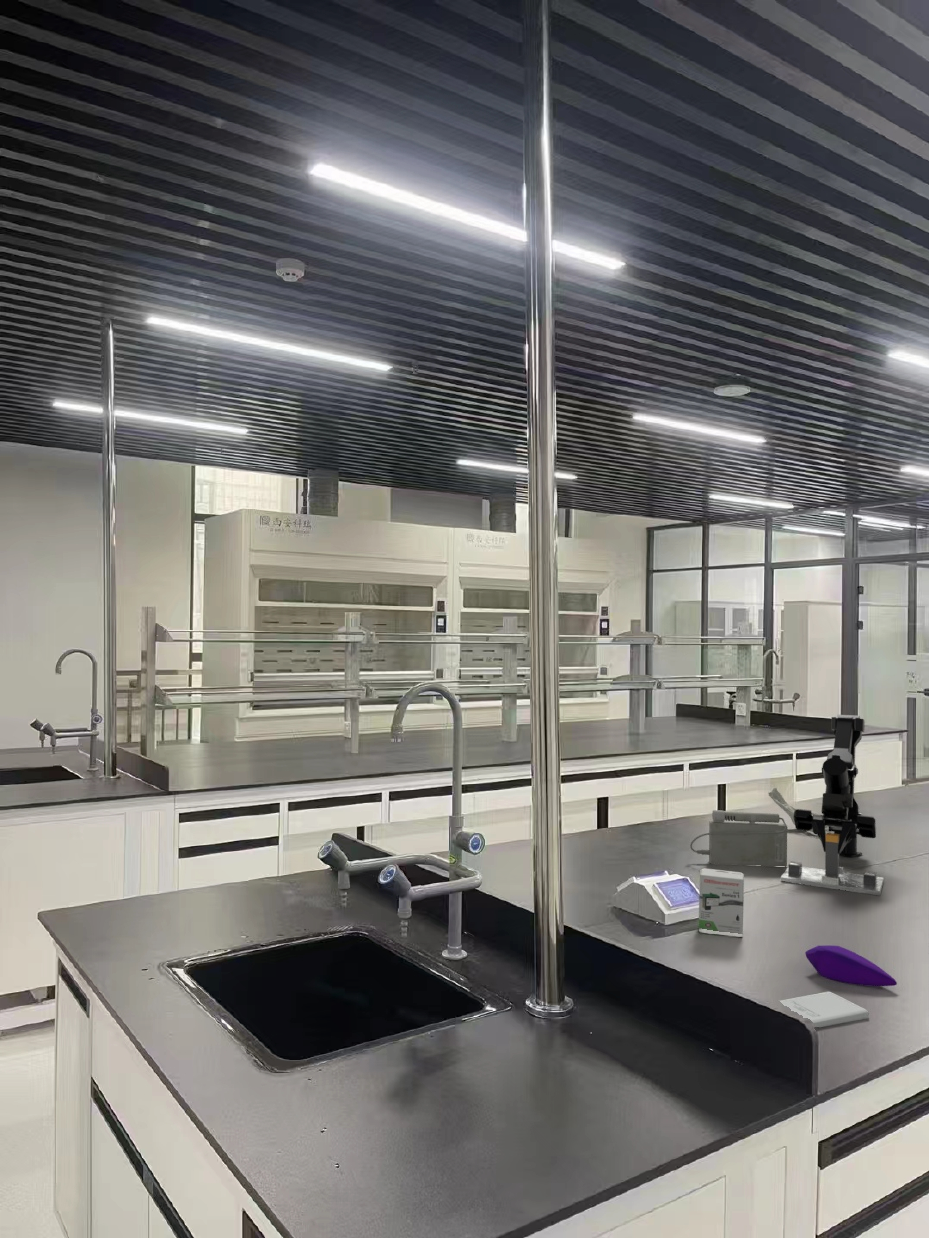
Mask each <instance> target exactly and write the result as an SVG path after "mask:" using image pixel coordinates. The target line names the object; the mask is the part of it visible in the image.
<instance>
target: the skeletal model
mask: <svg viewBox="0 0 929 1238" xmlns="http://www.w3.org/2000/svg"><path fill="white" fill-rule="evenodd" d="M767 794H768V796H769V798H770V799H772V801H773V802H774V803H775V804H776V805H777V806H778V807H779V808H780V809H781V810H783V811H784V812H785V813H786V814H787V815H788V817H790V820H791V822H792V823H793V825H794V826H795V821H794V811H795V810H796V809H797V808H796V807H794V806H793V805H791V804H790V803H788V802H787V801H786V800H785V798H784V796H783V795H782V794H781V793H780V792H779V791H778V789H777V787H774V788H773V789H772V790H771V791H768V793H767ZM813 814H815V813H814V812H812V815H813ZM816 814H817V813H816ZM817 815H819V813H818V814H817ZM802 831H803V832H806V831H805V830H802ZM808 832H812V833H813V828H812V829H811V830H809V831H808ZM825 832H827V833H832V831H831V832H830V831H829V826H825Z"/></svg>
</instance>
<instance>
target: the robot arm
mask: <svg viewBox="0 0 929 1238" xmlns="http://www.w3.org/2000/svg"><path fill="white" fill-rule="evenodd" d="M830 723H831V725H830V726H831V727H830V728H831V729H830V730H831V731H833V734H834V743H833V750H832V751H831V752H829V753H828V754H827V757H826V760H825V761H823V763H822V767H821V774H822V775H823V780H824V784H825V792H823V793H822V803H821V814H818V815H817V813H814V814H812V813H813V812H812V809H802V808H796V810H795V811H794V821H795V825H794V826H795V829H796V830H798V831H803V830H805V831H804V832H810V831H809V830H811V829H812V828H813V832H812V833H813V834H815V835H816V836H818V838H819V840H820V843H821V846H822V849H823V852H824V853H825V850H826V849H825V847H826V834H827V833H826V832H827V831H825V829H826V828H825V826H829V827H828V829H829V832H831V833H833V834H839V844H838V854H839V856H842V857H845V858H846V857H847V858H854V857H857V856H863V852H860V851H858V835H859V836H860V837H861V838H866V839H867V838H868V839H875V838H877V824H876V823H877V822H876V821H877V819H876V818H875V817H874V816H872V815H871V816H870V815H863V814H862V812H860V805H859V804H858V803H857V800H856V799H855V778H856V777H857V775H858V774H859V769H858V768H857V765H856V748H857V745H858V744H859V743H860V742H861V740H862V736H863V735H862V734H863V733H865V723H866V722H865V719H864V718H861V717H860V715H856V714H855V715H853V714H852V715H851V714H836V716H831V722H830Z"/></svg>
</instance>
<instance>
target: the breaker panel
mask: <svg viewBox="0 0 929 1238" xmlns="http://www.w3.org/2000/svg"><path fill="white" fill-rule="evenodd" d="M877 874H878V873H877V872H875V871H868V870H865V871H863V874H861V873H860V874H858V873H851V872H844V867H843V866H839V877H831V876H825V869H821V868H815V867H807V866H803V863H802V862H798V861H790V862H789V863H787V867H786V868H785V871H784V872H783V873H782V874H781V876H780V882H782V881H785V882H784V883H789V882H792V883H791V884H796V883H801V884H800V885H803V884H805V885H804V886H810V885H811V887H817V888H825V889H832V890H838V889H840V890H839V891H845V890H846V891H847V892H852V893H860V894H866V895H874V896H879V897H880V896H881V892H882V889H883V885H884V879H885V878H884V877H881V876H878V875H877Z"/></svg>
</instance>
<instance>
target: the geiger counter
mask: <svg viewBox="0 0 929 1238" xmlns="http://www.w3.org/2000/svg"><path fill="white" fill-rule="evenodd" d="M711 817H712V820H709V825H708V826H709V829H708V831H709V832H708V833H702V834H700V835H698V836H696V837H695V838H694V839H693V840H692V841H691V842H690V844H689V845H690V850H691V851H692V852H694V853H697V855H702V856H703V855H706V856H707V855H708V863H709V864H710V863H711V865H719V866H721V865H722V866H723V865H724V866H725V865H726V866H741V865H761V866H760V867H764V866H787V867H788V825H787V824H786V821H785V819H784V818H783V817H780V814H779V813H768V812H767V813H766V812H764V813H763V812H762V813H761V812H741V811H740V812H737V811H725V810H723V809H722V810H721V809H720V810H719V809H718V810H717V809H713V810H712V813H711ZM780 821H782V823H780ZM704 836H705V837H706V836H708V839H709V840H708V843H709V844H708V849H697V850H696V849H694V848H693V844H694V843H695V841H697V840H698V839H700V838H701V837H704Z"/></svg>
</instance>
